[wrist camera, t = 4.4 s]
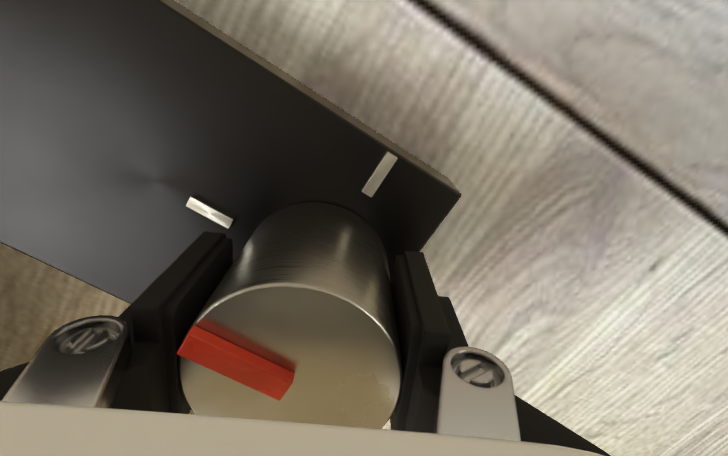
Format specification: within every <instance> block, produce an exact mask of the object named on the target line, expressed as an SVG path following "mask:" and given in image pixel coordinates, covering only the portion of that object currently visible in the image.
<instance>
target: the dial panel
mask: <svg viewBox="0 0 728 456" xmlns="http://www.w3.org/2000/svg"><path fill="white" fill-rule="evenodd" d="M460 197H461V194H460V192H459V191H458V190H457V189H456V187H455V186H454V185H453V184H452V183H451V181H450V180H449V179H448V178H447V177H445V176H444V175H442V174H441V173H439V172H438V171H436V170H435V169H433V168H431V167H430V166H428V165H427V164H425V163H424V162H422V161H421V160H419V159H418V158H416V157H414V156H413V155H411V154H410V153H408V152H407V151H405V150H404V149H402V148H401V147H399V146H397V145H396V144H394V143H393V142H391V141H390V140H388V139H387V138H385V137H384V136H382V135H381V134H379V133H377V132H376V131H374V130H373V129H371V128H370V127H368V126H367V125H365V124H364V123H362V122H360V121H359V120H357V119H356V118H354V117H353V116H351V115H350V114H348V113H347V112H345V111H343V110H342V109H340V108H339V107H337V106H336V105H334V104H333V103H331V102H330V101H328V100H327V99H325V98H323V97H322V96H320V95H319V94H317V93H316V92H314V91H313V90H311V89H310V88H308V87H306V86H305V85H303V84H302V83H300V82H299V81H297V80H296V79H294V78H293V77H291V76H289V75H288V74H286V73H285V72H283V71H282V70H280V69H279V68H277V67H276V66H274V65H273V64H271V63H269V62H268V61H266V60H265V59H263V58H262V57H260V56H259V55H257V54H256V53H254V52H252V51H251V50H249V49H248V48H246V47H245V46H243V45H242V44H240V43H239V42H237V41H235V40H234V39H232V38H231V37H229V36H228V35H226V34H225V33H223V32H222V31H220V30H218V29H217V28H215V27H214V26H212V25H211V24H209V23H208V22H206V21H205V20H203V19H202V18H200V17H198V16H197V15H195V14H194V13H192V12H191V11H189V10H188V9H186V8H185V7H183V6H181V5H180V4H178V3H177V2H175V1H174V0H0V242H1V243H3V244H5V245H7V246H9V247H11V248H14V249H16V250H18V251H20V252H22V253H24V254H26V255H28V256H30V257H33V258H35V259H37V260H39V261H41V262H43V263H45V264H47V265H49V266H52V267H54V268H56V269H58V270H60V271H62V272H64V273H66V274H69V275H71V276H73V277H75V278H77V279H79V280H81V281H83V282H85V283H88V284H90V285H92V286H94V287H96V288H98V289H100V290H102V291H104V292H107V293H109V294H111V295H113V296H115V297H117V298H119V299H121V300H124V301H126V302H128V303H130V304H132V303H133V302H134V301H135V300H136V299H137V298H138V297H139V296H140V295H141V294H142V293H143V292H144V291H145V290H146V289H147V288H148V287H149V286H150V285H151V284H152V283H153V282H154V281H155V280H156V279H157V278H158V277H159V276H160V275H161V274H162V273H163V272H164V271H165V270H166V269H167V268H168V267H169V266H170V265H171V264H172V263H173V262H174V261H175V260H176V259H177V258H178V257H179V256H180V255H181V254H182V253H183V252H184V251H185V250H186V249H187V248H188V247H189V246H190V245H191V244H192V243H193V242H194V241H195V240H196V239H197V238H198V237H199V236H200V235H201V234H202V233H203V232H204V231H208V232H218V233H225V234H226V237H227V238H230V239H232V242H233V263H234V261H235V260H236V258H237V257H238V255H239V254H240V252H241V251H242V249H243V248H244V246H245V245H246V243H247V242H248V240H249V239H250V237H251V236H252V234H253V233H254V231H255V230H256V228H257V227H258V226H259V225H260V224H261V223H262V222H263V221H264V220H265V219H266V218H268V217H269V216H270V215H272V214H273V213H275V212H277V211H278V210H280V209H283V208H285V207H288V206H291V205H294V204H299V203H306V202H319V203H328V204H332V205H336V206H339V207H342V208H345V209H347V210H349V211H351V212H353V213H355V214H356V215H357V216H359V217H360V218H362V219H363V220H364V221H365V222H366V223H368V224H369V225H370V226H371V228H372V229H373V230H374V231H375V232H376V234H377V235H378V237H379V238H380V240H381V242H382V244H383V246H384V249H385V252H386V256H387V262H388V269H389V276H390V283H391V285H392V278H393V272H394V265H395V259H396V255H403V252H404V251H413V252H420V250H421V249H422V248H423V246H424V245H425V244H426V242H427V241H428V240H429V238H430V237H431V236H432V234H433V233H434V232H435V230H436V229H437V228H438V226H439V225H440V224H441V222H442V221H443V220H444V218H445V217H446V216H447V214H448V213H449V212H450V210H451V209H452V208H453V206H454V205H455V204H456V202H457V201H458V200H459V198H460Z"/></svg>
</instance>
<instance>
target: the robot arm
mask: <svg viewBox="0 0 728 456" xmlns="http://www.w3.org/2000/svg"><path fill="white" fill-rule="evenodd" d="M232 264H233V242H232V239H230V238H227V237H226V234H225V233H218V232H208V231H204V232H203V233H202V234H201V235H200V236H199V237H198V238H197V239H196V240H195V241H194V242H193V243H192V244H191V245H190V246H189V247H188V248H187V249H186V250H185V251H184V252H183V253H182V254H181V255H180V256H179V257H178V258H177V259H176V260H175V261H174V262H173V263H172V264H171V265H170V266H169V267H168V268H167V269H166V270H165V271H164V272H163V273H162V274H161V275H160V276H159V277H158V278H157V279H156V280H155V281H154V282H153V283H152V284H151V285H150V286H149V287H148V288H147V289H146V290H145V291H144V292H143V293H142V294H141V295H140V296H139V297H138V298H137V299H136V300H135V301H134V302H133V303H132V304H131V305H130V306H129V307H128V308H127V309H126V310H125V311H124V312H123V313H122V314H121V315H120V316H119V317H114V316H103V315H100V316H92V317H86V318H82V319H79V320H75V321H73V322H70V323H68V324H66V325H63V326H62V327H60V328H59V329H57V330H55V331H54V332H53V333H52V334H51V335H50V336H49V337H48V338H47V339H46V340H45V342H44V343H43V344H42V346H41V347H40V348H39V350H38V351H37V353H36V354H35V355H34V357H33V358H32V359H31V361H30V362H28V363H25V364H22V365H19V366H16V367H13V368H10V369H7V370H4V371H1V372H0V456H610V455H609V454H608V453H606V452H605V451H603V450H602V449H600V448H598V447H597V446H595V445H594V444H592V443H590V442H589V441H587V440H586V439H584V438H582V437H581V436H579V435H578V434H576V433H574V432H573V431H571V430H570V429H568V428H566V427H565V426H563V425H562V424H560V423H559V422H557V421H555V420H554V419H552V418H551V417H549V416H547V415H546V414H544V413H543V412H541V411H539V410H538V409H536V408H535V407H533V406H531V405H530V404H528V403H527V402H525V401H523V400H522V399H520V398H519V397H517V396H516V395H514V389H513V382H512V376H511V374H510V371H509V369H508V368H507V366H506V365H505V364H504V363H503V362H502V361H501V360H500V359H498V358H497V357H496V356H494V355H492V354H491V353H489V352H487V351H484V350H481V349H478V348H473V347H469V346H468V344H467V341H466V339H465V336H464V334H463V331H462V329H461V326H460V324H459V321H458V318H457V316H456V313H455V311H454V308H453V306H452V303H451V301H450V299H449V297H442V296H438V295H437V292H436V289H435V286H434V283H433V281H432V278H431V275H430V272H429V269H428V266H427V263H426V260H425V257H424V254H423V252H413V251H404V252H403V255H396V259H395V265H394V272H393V278H392V285H391V290H392V297H393V304H394V312H395V319H396V326H397V333H398V340H399V347H400V354H401V361H402V368H403V384H402V390H401V395H400V398H399V401H398V404H397V406H396V408H395V410H394V412H393V414H392V415H391V417H390V422H391V430H387V429H374V428H362V427H349V426H336V425H324V424H311V423H298V422H285V421H272V420H259V419H246V418H233V417H219V416H206V415H192V414H189V412H190V410H191V408H190V406H189V405H188V403H187V401H186V399H185V396H184V394H183V392H182V388H181V384H180V380H179V371H178V362H179V355H178V354H177V351H178V350H179V348H180V346H181V344H182V342H183V339H184V337H185V335H186V333H187V331H188V329H189V328H190V326H191V325H192V323H193V322H194V320H195V319H196V317H197V316H198V314H199V313H200V311H201V310H202V308H203V307H204V305H205V304H206V303H207V301H208V300H209V298H210V297H211V295H212V294H213V292H214V291H215V289H216V288H217V286H218V285H219V283H220V282H221V280H222V279H223V277H224V276H225V274H226V273H227V271H228V270H229V268H230V267H231V265H232Z"/></svg>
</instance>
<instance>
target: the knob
mask: <svg viewBox="0 0 728 456" xmlns="http://www.w3.org/2000/svg"><path fill="white" fill-rule="evenodd" d="M177 354H178V355H179V362H178V371H179V380H180V384H181V388H182V392H183V394H184V396H185V399H186V401H187V403H188V405H189V406H190V408H191V410H192V411H193V413H194V414H195V415H206V416H219V417H233V418H246V419H259V420H272V421H285V422H298V423H311V424H324V425H336V426H349V427H362V428H374V429H381V428H382V427H383V426H384V425H385V424H386V422H387V421H388V420H389V418H390V417H391V415H392V414H393V412H394V410H395V408H396V406H397V404H398V401H399V398H400V395H401V390H402V384H403V368H402V361H401V354H400V347H399V340H398V333H397V326H396V319H395V312H394V304H393V297H392V290H391V283H390V276H389V269H388V262H387V256H386V252H385V249H384V246H383V244H382V242H381V240H380V238H379V237H378V235H377V234H376V232H375V231H374V230H373V229H372V228H371V226H370V225H369V224H368V223H366V222H365V221H364V220H363V219H362V218H360V217H359V216H357V215H356V214H355V213H353V212H351V211H349V210H347V209H345V208H342V207H339V206H336V205H332V204H328V203H319V202H306V203H299V204H294V205H291V206H288V207H285V208H283V209H280V210H278V211H277V212H275V213H273V214H272V215H270V216H269V217H268V218H266V219H265V220H264V221H263V222H262V223H261V224H260V225H259V226H258V227H257V228H256V230H255V231H254V233H253V234H252V236H251V237H250V239H249V240H248V242H247V243H246V245H245V246H244V248H243V249H242V251H241V252H240V254H239V255H238V257H237V258H236V260H235V261H234V263H233V264H232V265H231V267H230V268H229V270H228V271H227V273H226V274H225V276H224V277H223V279H222V280H221V282H220V283H219V285H218V286H217V288H216V289H215V291H214V292H213V294H212V295H211V297H210V298H209V300H208V301H207V303H206V304H205V305H204V307H203V308H202V310H201V311H200V313H199V314H198V316H197V317H196V319H195V320H194V322H193V323H192V325H191V326H190V328H189V329H188V331H187V333H186V335H185V337H184V339H183V342H182V344H181V346H180V348H179V350H178V351H177Z"/></svg>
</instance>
